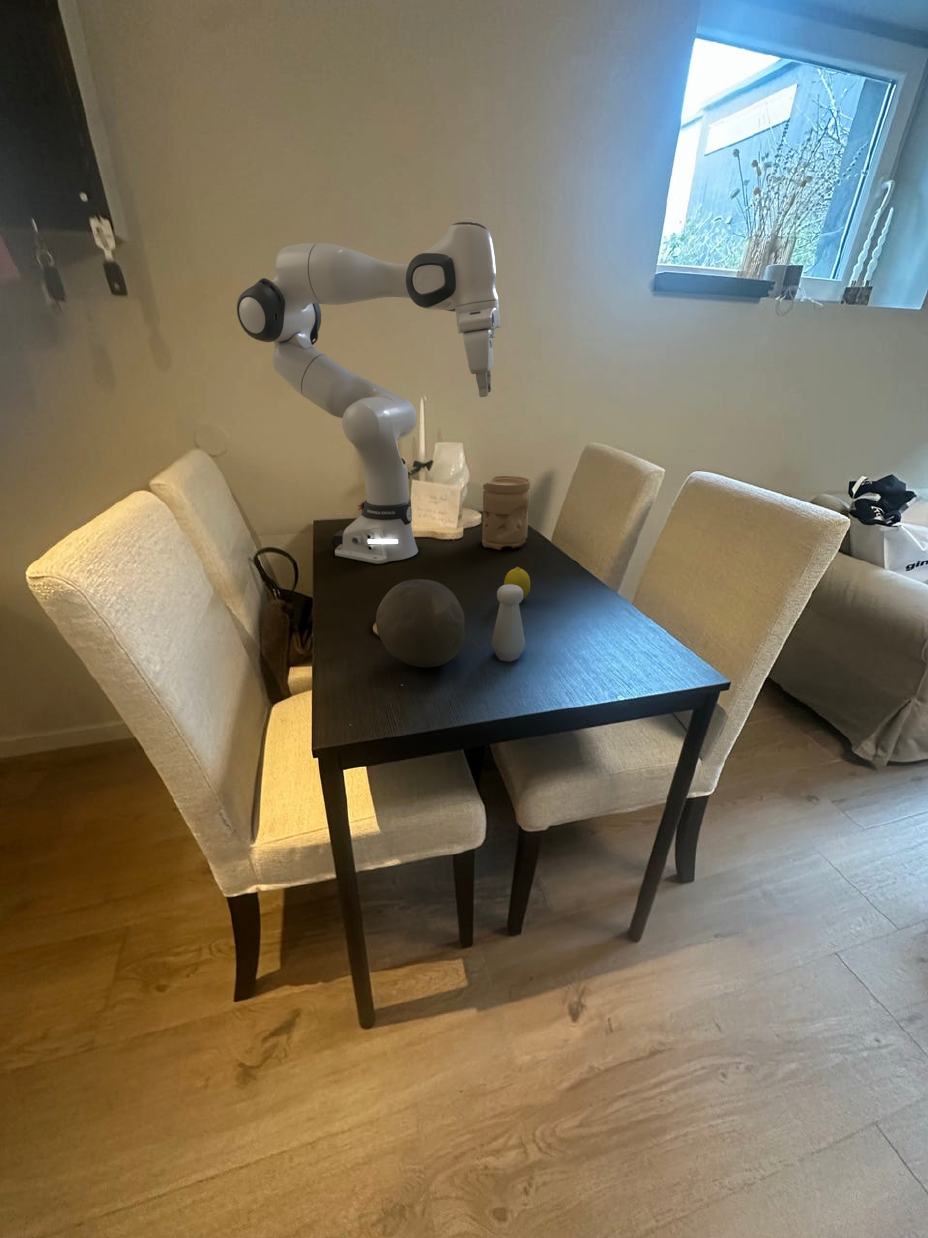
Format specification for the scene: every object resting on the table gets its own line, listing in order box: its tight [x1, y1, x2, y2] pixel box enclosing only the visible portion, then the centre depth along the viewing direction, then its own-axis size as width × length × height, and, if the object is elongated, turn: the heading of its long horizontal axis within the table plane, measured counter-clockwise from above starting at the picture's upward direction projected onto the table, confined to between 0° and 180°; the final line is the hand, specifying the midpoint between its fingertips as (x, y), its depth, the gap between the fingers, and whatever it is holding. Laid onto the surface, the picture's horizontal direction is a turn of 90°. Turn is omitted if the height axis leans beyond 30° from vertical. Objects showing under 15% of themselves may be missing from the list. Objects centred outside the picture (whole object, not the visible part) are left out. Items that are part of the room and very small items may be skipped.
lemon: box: [503, 566, 531, 601], centre depth 105 cm, size 6×6×8 cm
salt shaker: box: [491, 584, 526, 663], centre depth 84 cm, size 6×6×13 cm
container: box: [481, 475, 531, 551], centre depth 137 cm, size 13×13×18 cm
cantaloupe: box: [375, 578, 466, 669], centre depth 81 cm, size 14×14×15 cm
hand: (485, 394), depth 108 cm, fingers open, 8 cm apart
